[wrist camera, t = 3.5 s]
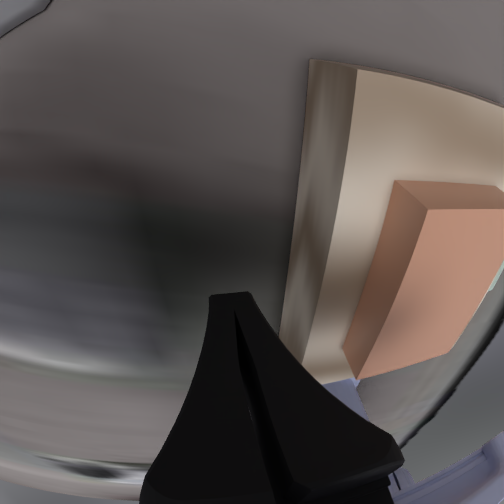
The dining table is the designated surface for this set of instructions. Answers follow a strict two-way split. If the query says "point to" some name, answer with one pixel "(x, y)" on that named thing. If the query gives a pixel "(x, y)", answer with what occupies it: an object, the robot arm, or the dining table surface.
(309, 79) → the plate
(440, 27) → the dining table surface
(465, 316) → the tile
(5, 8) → the flask
